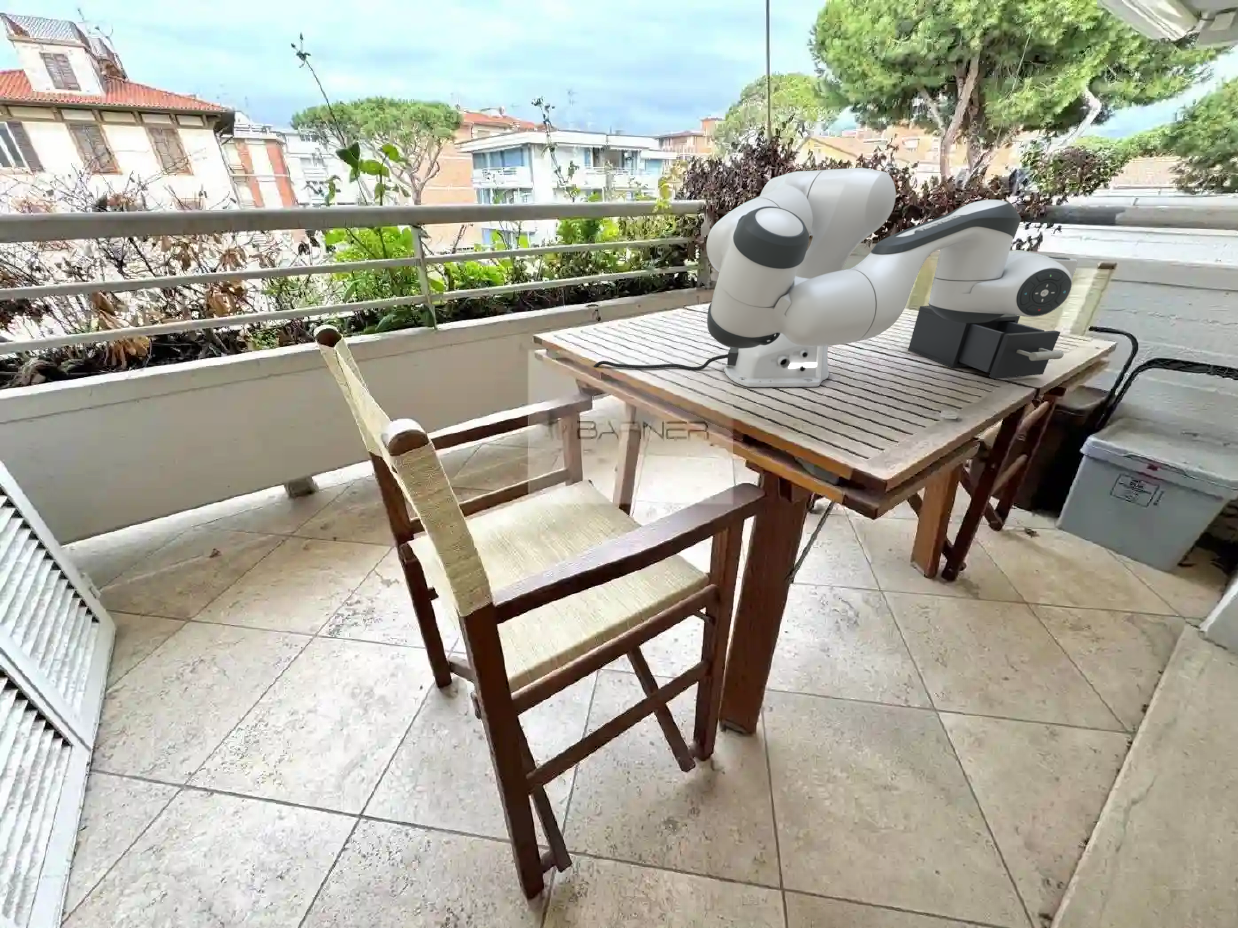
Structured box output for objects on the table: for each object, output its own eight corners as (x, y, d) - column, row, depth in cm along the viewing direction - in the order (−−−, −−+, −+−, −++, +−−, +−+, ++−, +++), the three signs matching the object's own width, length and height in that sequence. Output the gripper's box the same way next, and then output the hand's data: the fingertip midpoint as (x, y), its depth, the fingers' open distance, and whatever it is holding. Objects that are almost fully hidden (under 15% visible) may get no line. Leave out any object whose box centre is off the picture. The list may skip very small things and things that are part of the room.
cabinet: (1002, 364, 110) (1020, 316, 105) (952, 368, 109) (967, 319, 103) (953, 347, 123) (967, 303, 118) (907, 350, 121) (919, 306, 116)
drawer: (1063, 381, 97) (1083, 337, 93) (1012, 386, 95) (1030, 341, 91) (989, 356, 113) (1003, 317, 108) (944, 359, 111) (957, 320, 107)
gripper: (940, 293, 91) (927, 282, 102) (1074, 298, 84) (1045, 286, 96) (950, 257, 88) (936, 250, 99) (1090, 259, 81) (1058, 251, 93)
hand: (990, 267), depth 97 cm, fingers open, 8 cm apart
